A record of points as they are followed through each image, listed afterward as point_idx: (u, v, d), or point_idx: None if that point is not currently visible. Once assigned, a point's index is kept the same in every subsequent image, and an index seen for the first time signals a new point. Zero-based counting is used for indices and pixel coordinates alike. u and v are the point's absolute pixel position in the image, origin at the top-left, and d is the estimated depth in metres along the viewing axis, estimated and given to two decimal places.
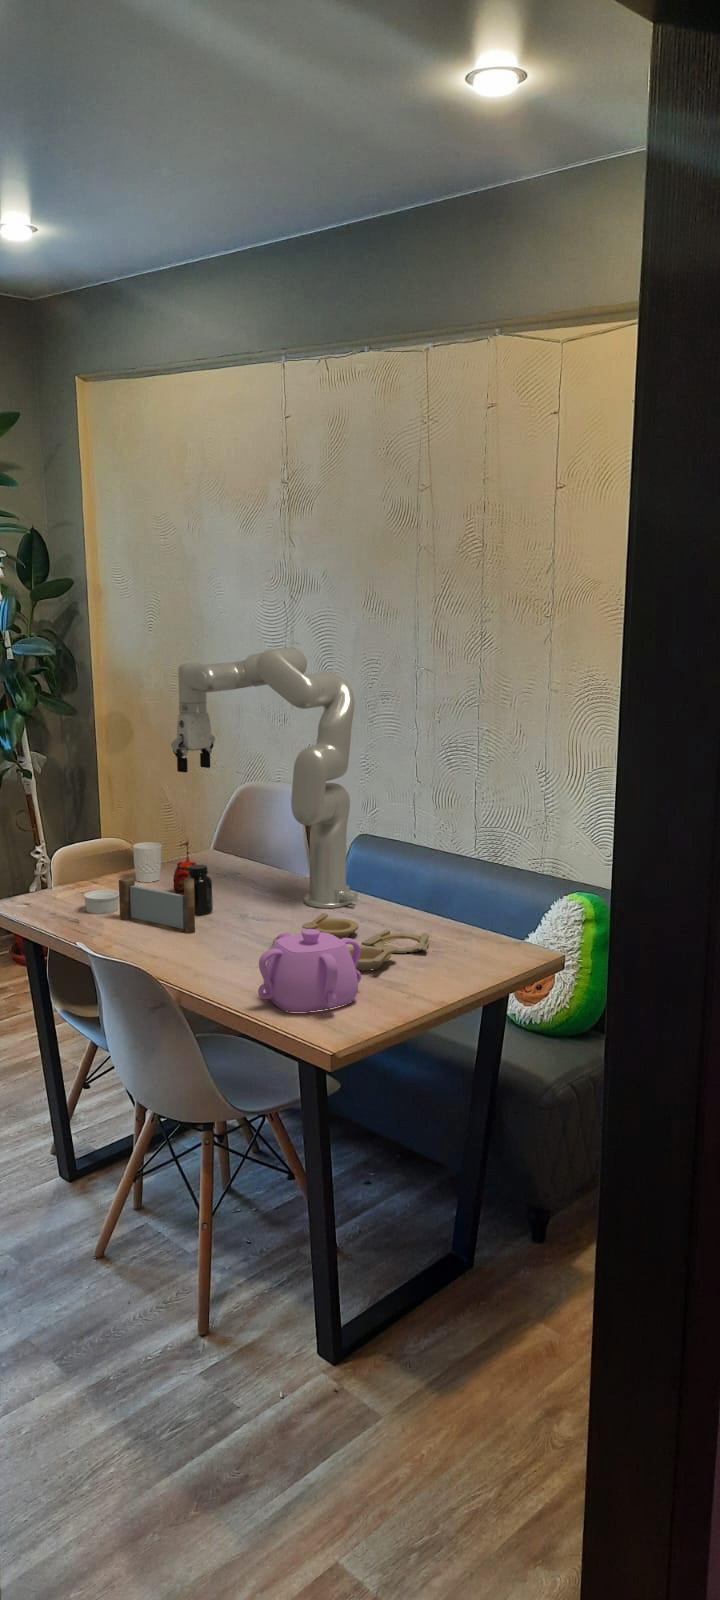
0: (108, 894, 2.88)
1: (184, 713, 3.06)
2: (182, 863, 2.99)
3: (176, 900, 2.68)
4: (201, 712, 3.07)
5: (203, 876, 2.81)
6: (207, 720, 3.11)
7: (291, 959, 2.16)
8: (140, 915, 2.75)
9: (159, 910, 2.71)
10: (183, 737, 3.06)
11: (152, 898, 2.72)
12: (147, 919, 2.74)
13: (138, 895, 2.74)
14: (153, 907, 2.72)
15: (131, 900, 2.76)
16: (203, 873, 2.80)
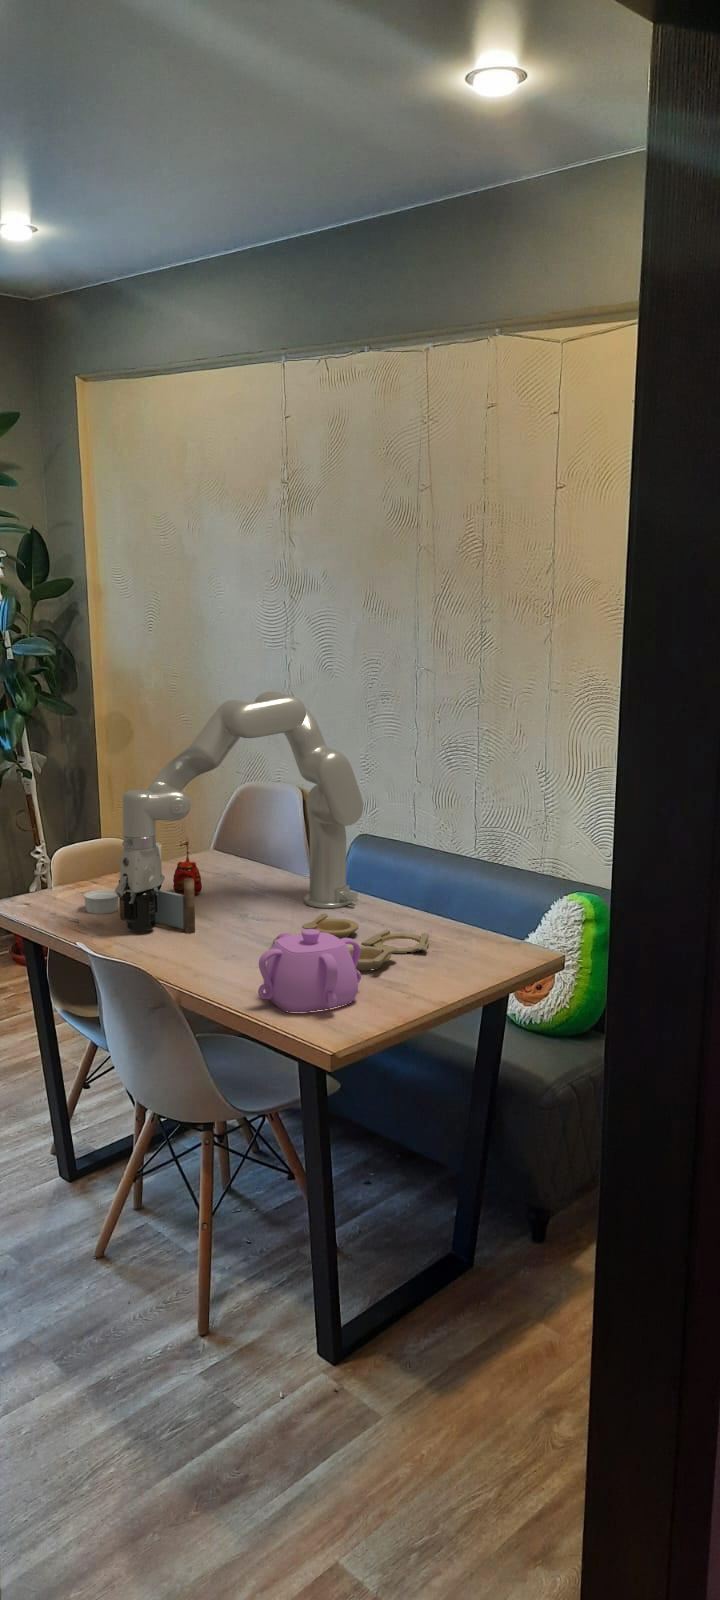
0: (108, 894, 2.88)
1: (129, 849, 2.61)
2: (182, 863, 2.99)
3: (177, 899, 2.68)
4: (149, 848, 2.62)
5: None
6: (156, 855, 2.66)
7: (291, 960, 2.16)
8: None
9: (160, 909, 2.72)
10: (127, 877, 2.61)
11: None
12: None
13: None
14: None
15: None
16: None
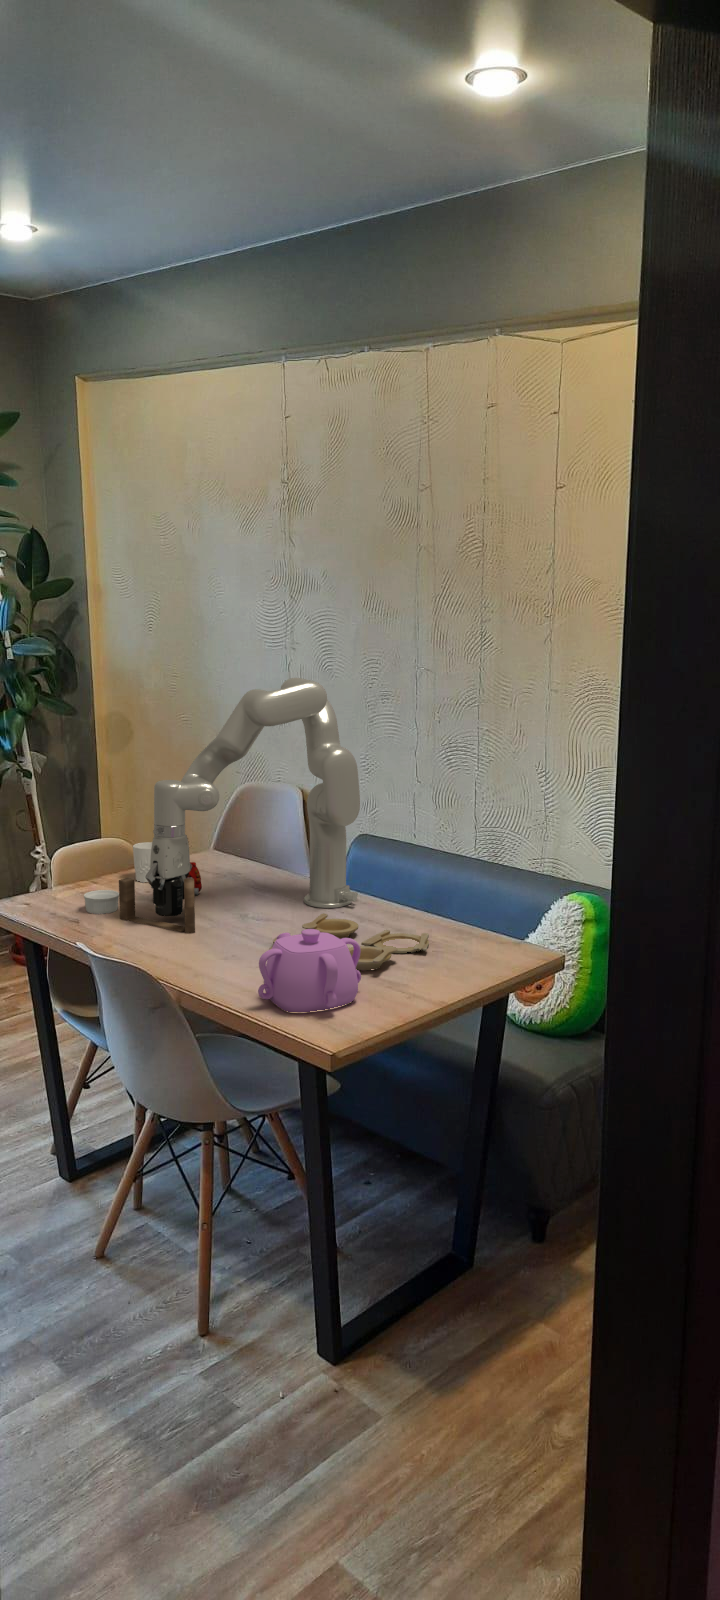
0: (108, 894, 2.88)
1: (159, 836, 2.70)
2: None
3: None
4: (179, 836, 2.71)
5: None
6: (185, 844, 2.75)
7: (291, 959, 2.16)
8: None
9: None
10: (157, 864, 2.70)
11: None
12: None
13: None
14: None
15: None
16: None
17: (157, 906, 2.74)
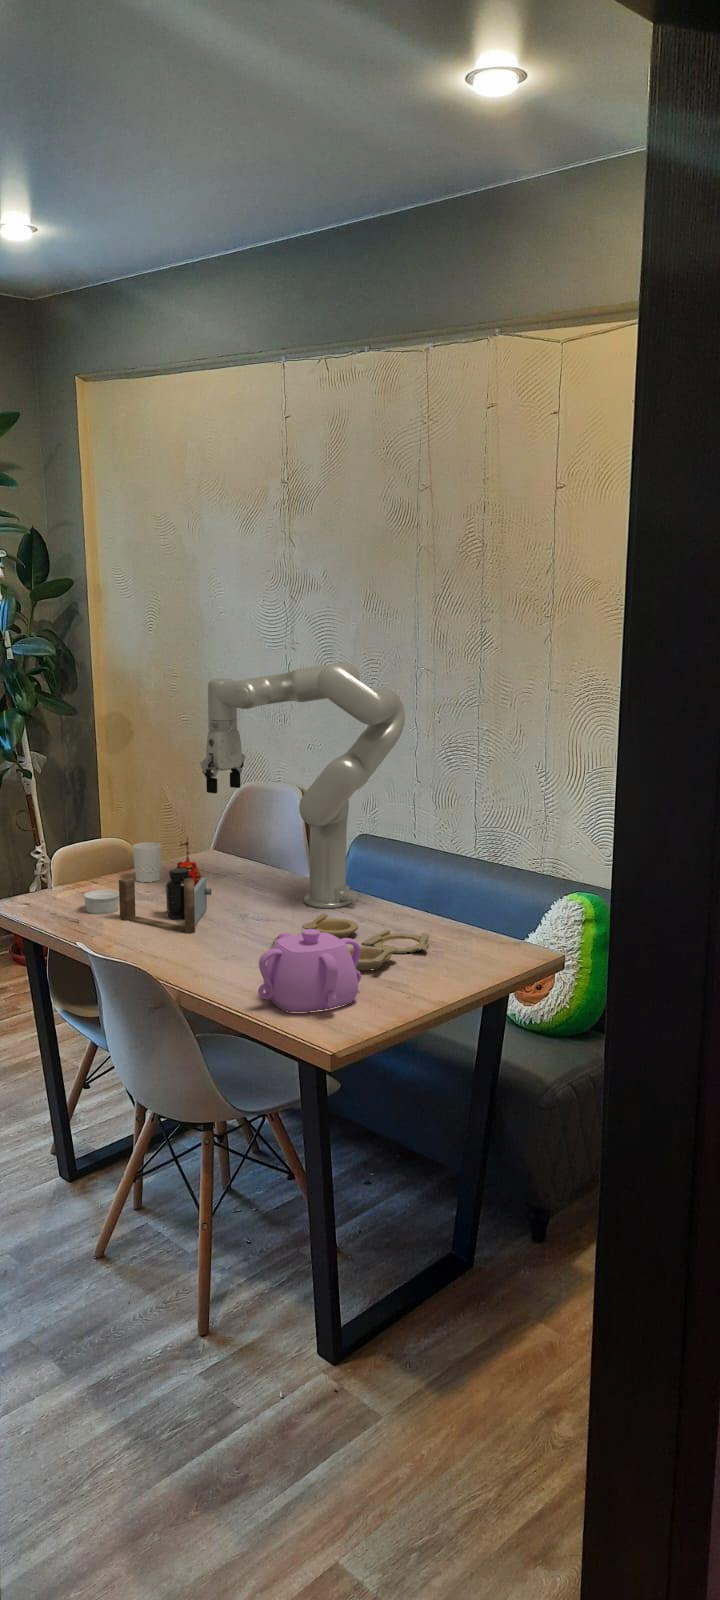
0: (108, 894, 2.88)
1: (214, 731, 2.91)
2: (182, 863, 2.99)
3: None
4: (232, 730, 2.92)
5: None
6: (238, 738, 2.96)
7: (291, 959, 2.16)
8: None
9: None
10: (213, 756, 2.91)
11: None
12: None
13: None
14: None
15: None
16: (184, 877, 2.77)
17: (169, 910, 2.78)
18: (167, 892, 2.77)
